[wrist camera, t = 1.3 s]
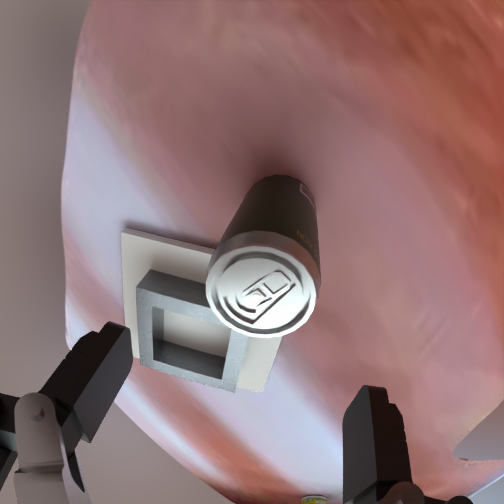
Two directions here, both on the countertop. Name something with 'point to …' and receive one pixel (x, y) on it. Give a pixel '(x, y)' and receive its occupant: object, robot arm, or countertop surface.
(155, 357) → the can collar
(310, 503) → the supplement bottle
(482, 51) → the countertop surface
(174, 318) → the holder plate
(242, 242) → the beer can
